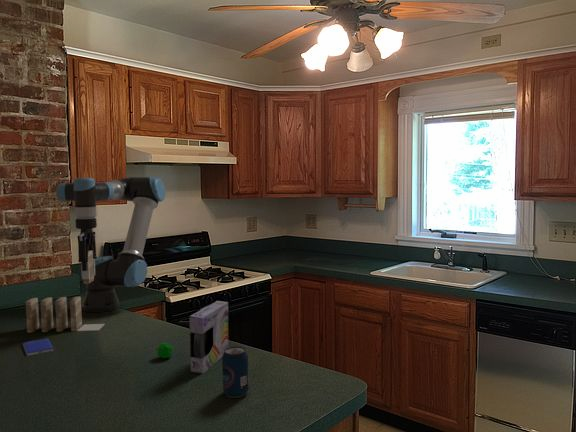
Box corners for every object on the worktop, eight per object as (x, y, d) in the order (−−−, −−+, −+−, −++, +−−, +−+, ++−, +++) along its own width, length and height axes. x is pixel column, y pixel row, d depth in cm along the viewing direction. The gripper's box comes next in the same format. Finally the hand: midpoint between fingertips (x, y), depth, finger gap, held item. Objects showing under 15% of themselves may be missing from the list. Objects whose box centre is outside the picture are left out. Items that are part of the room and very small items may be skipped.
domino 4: (82, 326, 199) (80, 296, 198) (76, 330, 193) (75, 300, 192) (76, 326, 199) (75, 296, 198) (71, 330, 193) (69, 300, 192)
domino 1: (39, 327, 198) (37, 297, 197) (32, 332, 192) (30, 301, 191) (34, 327, 198) (32, 297, 197) (27, 332, 192) (25, 301, 191)
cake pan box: (202, 375, 148) (200, 317, 147) (187, 373, 150) (185, 315, 148) (230, 353, 166) (229, 301, 165) (216, 351, 168) (215, 300, 166)
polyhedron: (175, 355, 165) (175, 341, 164) (168, 361, 160) (167, 346, 159) (162, 354, 166) (161, 340, 166) (154, 359, 161) (153, 345, 161)
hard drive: (22, 342, 177) (26, 352, 167) (48, 338, 181) (53, 347, 171) (23, 347, 177) (27, 357, 167) (48, 342, 182) (53, 352, 171)
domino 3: (67, 326, 199) (66, 296, 198) (62, 331, 193) (60, 300, 192) (62, 326, 199) (61, 297, 198) (56, 331, 193) (55, 300, 192)
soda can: (217, 393, 136) (216, 350, 135) (237, 385, 140) (236, 343, 140) (233, 401, 131) (232, 356, 130) (254, 392, 136) (253, 349, 135)
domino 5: (94, 280, 198) (92, 250, 197) (89, 283, 192) (87, 252, 191) (88, 280, 198) (87, 250, 197) (83, 283, 192) (82, 252, 191)
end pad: (104, 324, 201) (104, 323, 201) (98, 330, 193) (98, 329, 193) (84, 325, 200) (84, 324, 200) (77, 331, 192) (77, 330, 192)
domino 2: (53, 327, 198) (52, 297, 197) (47, 331, 192) (45, 301, 191) (48, 327, 198) (46, 297, 197) (42, 331, 192) (40, 301, 191)
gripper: (84, 216, 202) (86, 272, 204) (66, 220, 183) (69, 282, 185) (103, 215, 203) (105, 272, 204) (87, 219, 184) (90, 282, 186)
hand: (88, 277), depth 195 cm, fingers closed on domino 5, 6 cm apart
